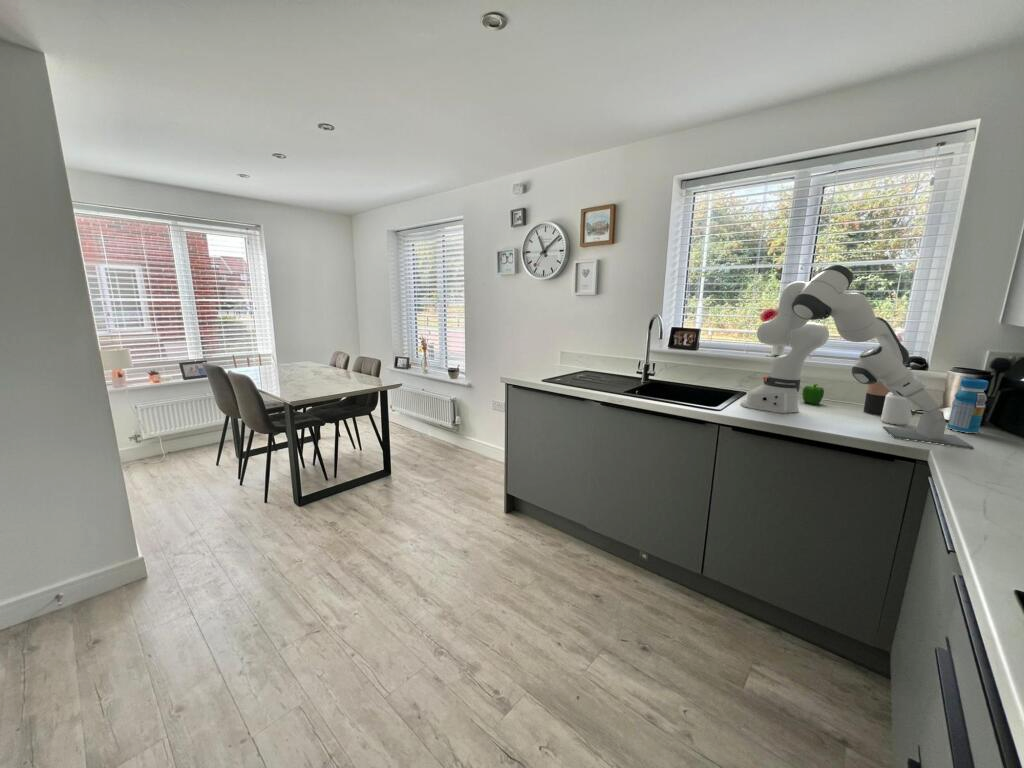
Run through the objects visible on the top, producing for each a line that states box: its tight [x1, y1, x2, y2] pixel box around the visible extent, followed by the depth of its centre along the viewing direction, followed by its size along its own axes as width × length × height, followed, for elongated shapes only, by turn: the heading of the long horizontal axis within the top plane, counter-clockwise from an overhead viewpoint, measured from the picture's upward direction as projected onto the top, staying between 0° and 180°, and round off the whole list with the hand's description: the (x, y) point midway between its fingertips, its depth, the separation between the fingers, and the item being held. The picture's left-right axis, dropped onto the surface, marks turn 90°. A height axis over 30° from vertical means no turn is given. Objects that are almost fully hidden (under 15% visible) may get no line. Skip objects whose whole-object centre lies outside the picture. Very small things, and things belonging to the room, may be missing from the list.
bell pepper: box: [802, 382, 825, 405], centre depth 194 cm, size 8×8×10 cm
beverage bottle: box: [946, 377, 989, 434], centre depth 154 cm, size 8×8×20 cm
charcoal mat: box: [882, 426, 974, 450], centre depth 146 cm, size 20×14×1 cm
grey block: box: [916, 409, 947, 440], centre depth 145 cm, size 4×7×10 cm, turn 166°
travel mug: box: [863, 381, 890, 416], centre depth 178 cm, size 8×8×20 cm
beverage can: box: [880, 392, 914, 426], centre depth 163 cm, size 8×8×12 cm
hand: (934, 414), depth 144 cm, fingers open, 8 cm apart
